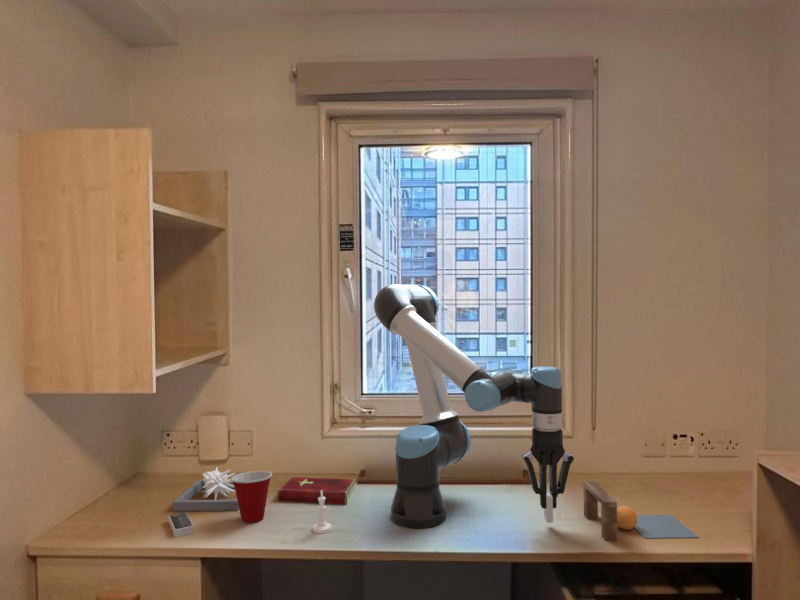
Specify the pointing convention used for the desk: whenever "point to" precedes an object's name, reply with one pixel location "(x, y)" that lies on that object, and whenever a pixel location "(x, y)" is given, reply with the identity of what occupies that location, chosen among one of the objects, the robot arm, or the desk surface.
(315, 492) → the hardcover book
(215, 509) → the ball rest frame
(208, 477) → the spiky ball
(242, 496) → the plastic cup
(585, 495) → the bridge
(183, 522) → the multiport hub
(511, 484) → the desk surface
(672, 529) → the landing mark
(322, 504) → the chess piece
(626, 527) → the ball
